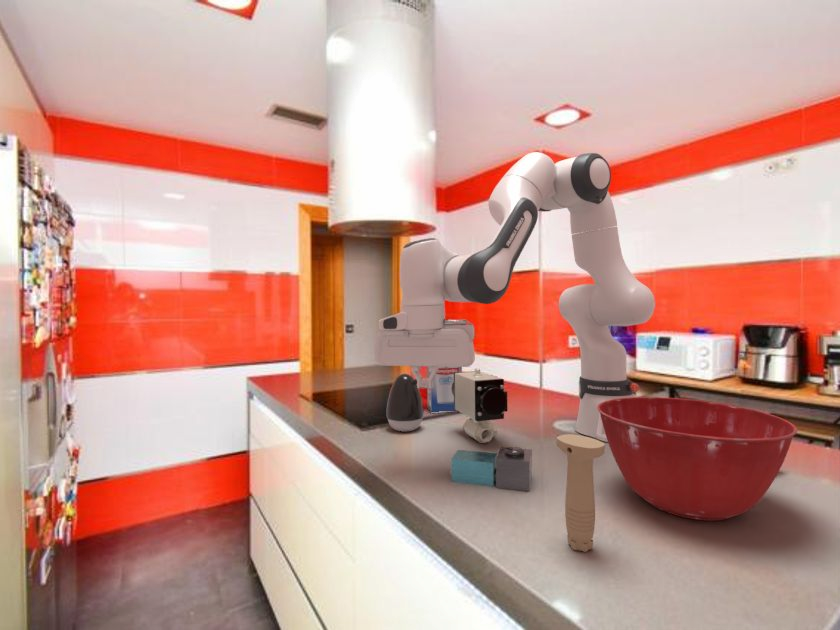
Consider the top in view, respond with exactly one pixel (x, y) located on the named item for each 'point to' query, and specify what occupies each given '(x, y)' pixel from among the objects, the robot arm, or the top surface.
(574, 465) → the handle
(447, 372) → the milk carton
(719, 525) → the top surface
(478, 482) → the teal storage bin
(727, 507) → the mixing bowl
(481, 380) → the ball valve
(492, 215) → the robot arm
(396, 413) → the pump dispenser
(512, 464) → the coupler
